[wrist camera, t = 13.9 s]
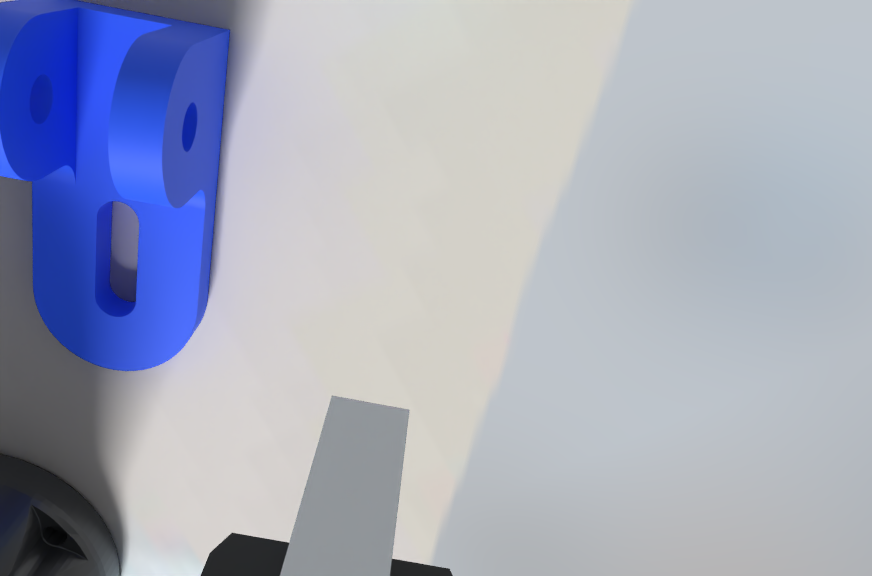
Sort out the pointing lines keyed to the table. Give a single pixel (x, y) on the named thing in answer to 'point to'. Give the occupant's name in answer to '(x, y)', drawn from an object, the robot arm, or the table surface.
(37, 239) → the bracket
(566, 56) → the table surface
